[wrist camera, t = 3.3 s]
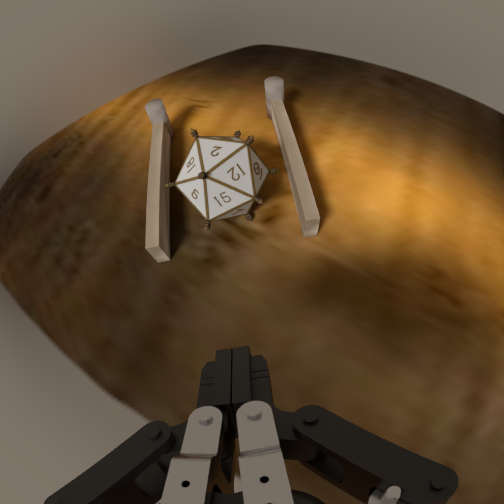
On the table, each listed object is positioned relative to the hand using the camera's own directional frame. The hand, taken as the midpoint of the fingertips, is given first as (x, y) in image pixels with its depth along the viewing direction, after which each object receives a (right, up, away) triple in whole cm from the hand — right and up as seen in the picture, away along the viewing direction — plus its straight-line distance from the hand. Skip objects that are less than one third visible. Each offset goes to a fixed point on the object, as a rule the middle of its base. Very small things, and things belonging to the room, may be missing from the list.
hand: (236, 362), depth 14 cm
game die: (-1, +10, +16) cm, 19 cm away
